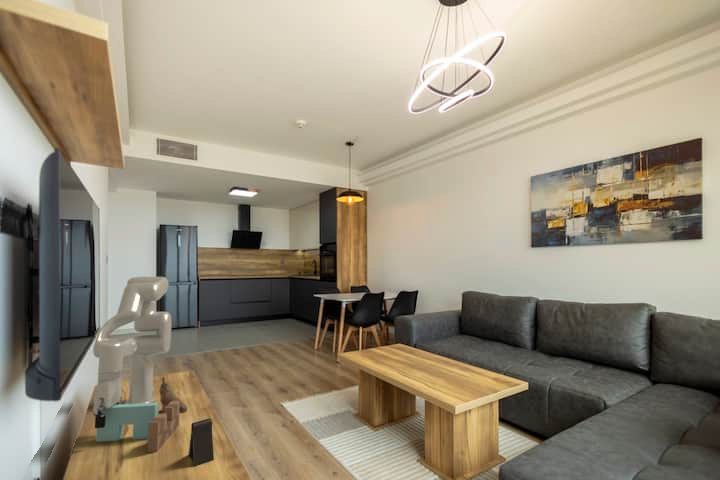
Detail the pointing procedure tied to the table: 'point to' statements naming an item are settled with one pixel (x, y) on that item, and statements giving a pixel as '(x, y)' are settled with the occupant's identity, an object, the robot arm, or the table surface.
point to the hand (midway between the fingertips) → (107, 421)
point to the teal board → (127, 420)
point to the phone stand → (201, 442)
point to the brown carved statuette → (169, 397)
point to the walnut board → (163, 426)
